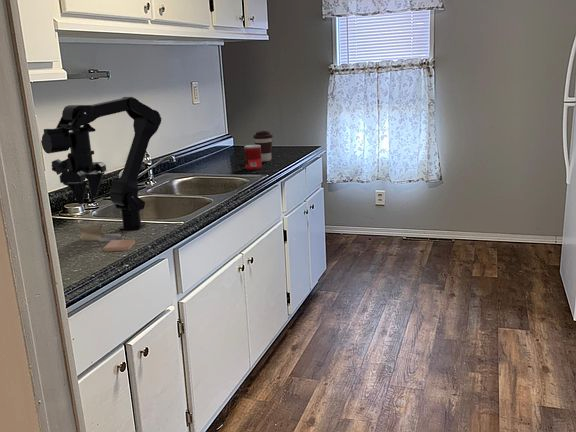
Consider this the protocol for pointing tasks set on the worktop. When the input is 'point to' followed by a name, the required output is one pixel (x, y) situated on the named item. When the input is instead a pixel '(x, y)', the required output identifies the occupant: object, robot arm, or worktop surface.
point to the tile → (119, 245)
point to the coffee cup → (264, 144)
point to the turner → (96, 233)
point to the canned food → (253, 157)
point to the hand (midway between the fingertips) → (87, 200)
